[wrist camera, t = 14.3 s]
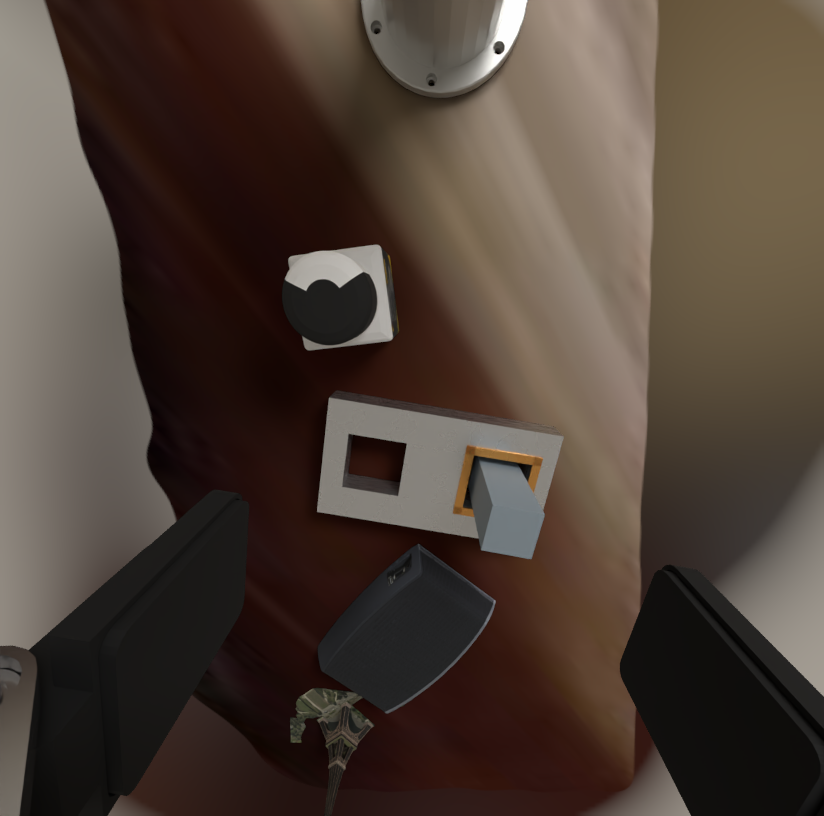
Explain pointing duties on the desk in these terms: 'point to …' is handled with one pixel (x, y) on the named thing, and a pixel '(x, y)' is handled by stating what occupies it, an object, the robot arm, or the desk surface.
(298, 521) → the desk surface
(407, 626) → the external hard drive
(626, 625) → the desk surface
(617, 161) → the desk surface
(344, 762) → the eiffel tower figurine
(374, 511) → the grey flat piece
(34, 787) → the robot arm
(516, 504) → the peg
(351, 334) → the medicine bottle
